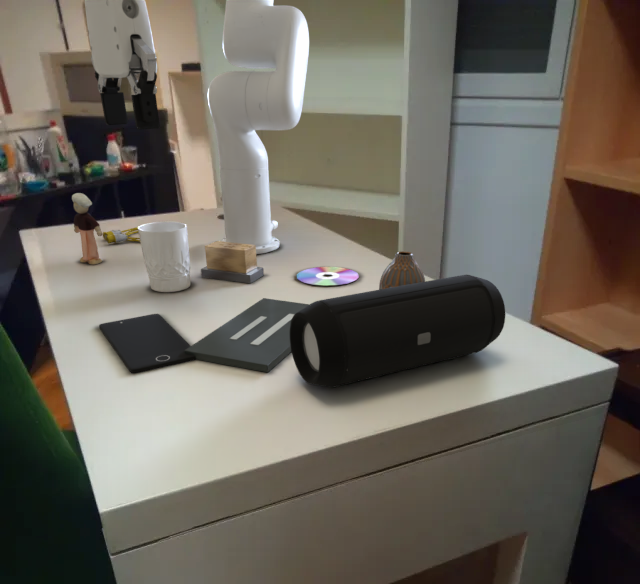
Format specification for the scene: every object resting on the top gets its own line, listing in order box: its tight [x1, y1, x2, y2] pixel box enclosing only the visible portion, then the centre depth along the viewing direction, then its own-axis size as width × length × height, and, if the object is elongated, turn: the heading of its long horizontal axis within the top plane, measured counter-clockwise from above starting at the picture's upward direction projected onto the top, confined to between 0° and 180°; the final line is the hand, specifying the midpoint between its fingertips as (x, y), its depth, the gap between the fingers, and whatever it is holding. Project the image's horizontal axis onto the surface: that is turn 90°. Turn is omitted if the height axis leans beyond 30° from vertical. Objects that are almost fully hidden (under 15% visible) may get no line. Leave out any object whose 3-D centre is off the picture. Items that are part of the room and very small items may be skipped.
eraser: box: [200, 240, 265, 284], centre depth 105 cm, size 10×5×6 cm, turn 67°
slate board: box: [185, 297, 311, 373], centre depth 83 cm, size 22×12×1 cm, turn 157°
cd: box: [296, 266, 360, 287], centre depth 106 cm, size 11×11×1 cm
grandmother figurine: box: [71, 192, 103, 266], centre depth 112 cm, size 8×4×13 cm, turn 68°
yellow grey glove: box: [102, 226, 141, 244], centre depth 132 cm, size 12×16×2 cm
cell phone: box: [98, 313, 197, 375], centre depth 81 cm, size 9×18×1 cm, turn 30°
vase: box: [378, 250, 426, 290], centre depth 88 cm, size 7×7×9 cm
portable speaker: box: [290, 274, 506, 388], centre depth 71 cm, size 26×10×10 cm, turn 117°
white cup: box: [137, 220, 192, 293], centre depth 99 cm, size 8×8×10 cm
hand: (132, 126), depth 82 cm, fingers open, 9 cm apart
